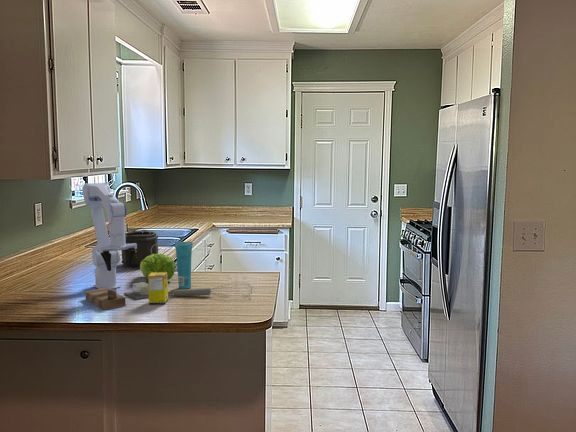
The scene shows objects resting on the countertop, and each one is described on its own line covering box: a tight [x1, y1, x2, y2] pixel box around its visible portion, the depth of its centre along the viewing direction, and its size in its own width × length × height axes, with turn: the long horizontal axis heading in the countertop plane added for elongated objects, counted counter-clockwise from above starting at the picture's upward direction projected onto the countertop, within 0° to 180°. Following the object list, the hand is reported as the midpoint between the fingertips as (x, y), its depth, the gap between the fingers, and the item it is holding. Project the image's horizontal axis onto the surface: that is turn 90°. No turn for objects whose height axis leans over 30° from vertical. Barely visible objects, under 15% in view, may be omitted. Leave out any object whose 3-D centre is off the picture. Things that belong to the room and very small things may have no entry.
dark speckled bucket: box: [120, 230, 159, 269], centre depth 259 cm, size 18×18×16 cm
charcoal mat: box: [123, 290, 149, 301], centre depth 203 cm, size 11×10×1 cm
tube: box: [174, 240, 194, 290], centre depth 213 cm, size 7×5×19 cm, turn 89°
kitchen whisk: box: [168, 281, 253, 299], centre depth 201 cm, size 6×33×6 cm, turn 87°
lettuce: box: [139, 253, 176, 281], centre depth 228 cm, size 13×22×14 cm
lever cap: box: [132, 281, 149, 296], centre depth 203 cm, size 7×4×4 cm, turn 40°
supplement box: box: [147, 272, 169, 306], centre depth 192 cm, size 6×6×11 cm
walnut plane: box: [84, 288, 127, 311], centre depth 193 cm, size 18×8×6 cm, turn 40°
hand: (118, 269), depth 201 cm, fingers open, 7 cm apart
